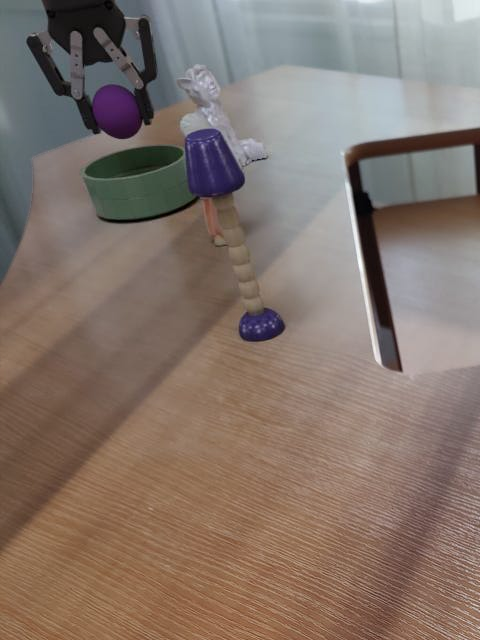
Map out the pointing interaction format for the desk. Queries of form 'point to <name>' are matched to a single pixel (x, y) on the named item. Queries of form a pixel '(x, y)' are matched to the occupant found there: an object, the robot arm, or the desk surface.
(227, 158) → the toy lamp
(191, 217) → the desk surface
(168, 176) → the bowl
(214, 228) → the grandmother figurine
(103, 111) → the ball
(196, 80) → the white creature statuette
